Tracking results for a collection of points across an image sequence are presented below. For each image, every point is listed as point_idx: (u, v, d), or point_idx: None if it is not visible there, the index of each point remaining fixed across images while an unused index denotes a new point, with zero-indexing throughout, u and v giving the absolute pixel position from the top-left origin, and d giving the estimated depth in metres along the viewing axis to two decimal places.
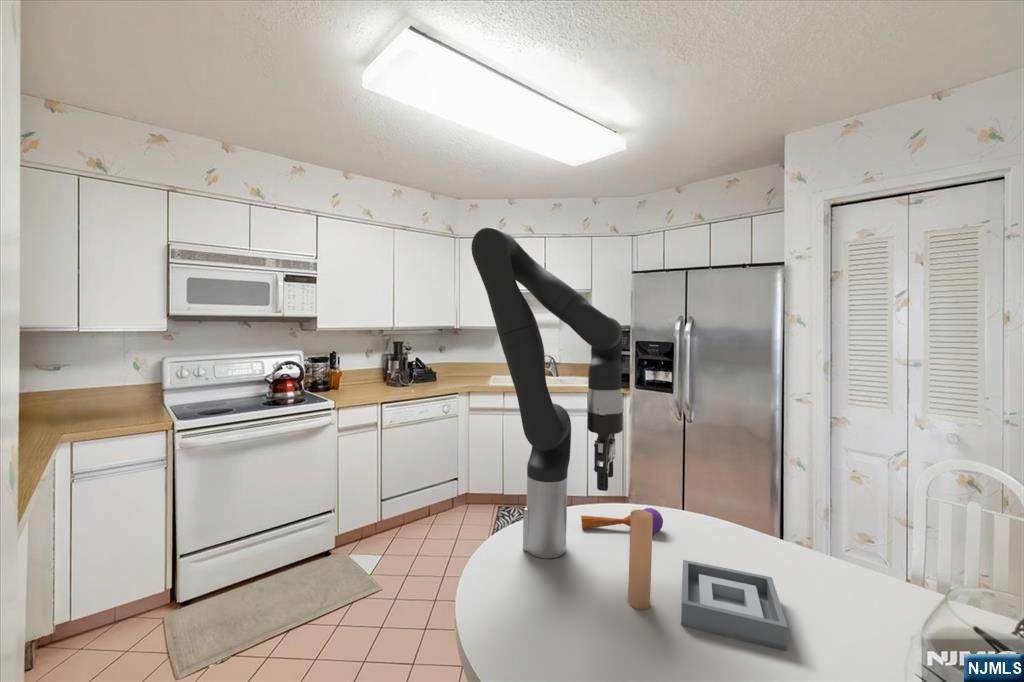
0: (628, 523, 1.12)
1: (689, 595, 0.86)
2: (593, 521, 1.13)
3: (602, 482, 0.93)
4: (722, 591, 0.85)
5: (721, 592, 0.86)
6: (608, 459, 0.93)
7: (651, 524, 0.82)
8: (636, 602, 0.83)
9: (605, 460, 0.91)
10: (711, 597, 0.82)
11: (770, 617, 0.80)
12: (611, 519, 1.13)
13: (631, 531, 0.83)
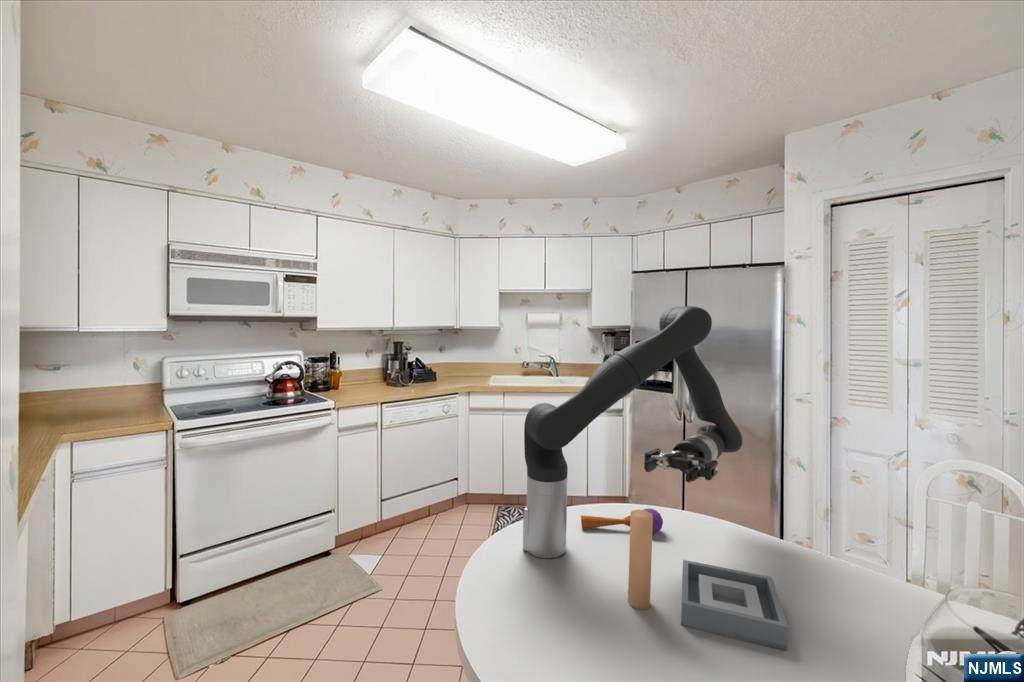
0: (628, 523, 1.12)
1: (689, 595, 0.86)
2: (593, 521, 1.13)
3: (696, 476, 0.89)
4: (722, 591, 0.85)
5: (721, 592, 0.86)
6: None
7: (651, 524, 0.82)
8: (636, 602, 0.83)
9: (713, 476, 0.92)
10: (711, 597, 0.82)
11: (770, 617, 0.80)
12: (611, 519, 1.13)
13: (631, 531, 0.83)
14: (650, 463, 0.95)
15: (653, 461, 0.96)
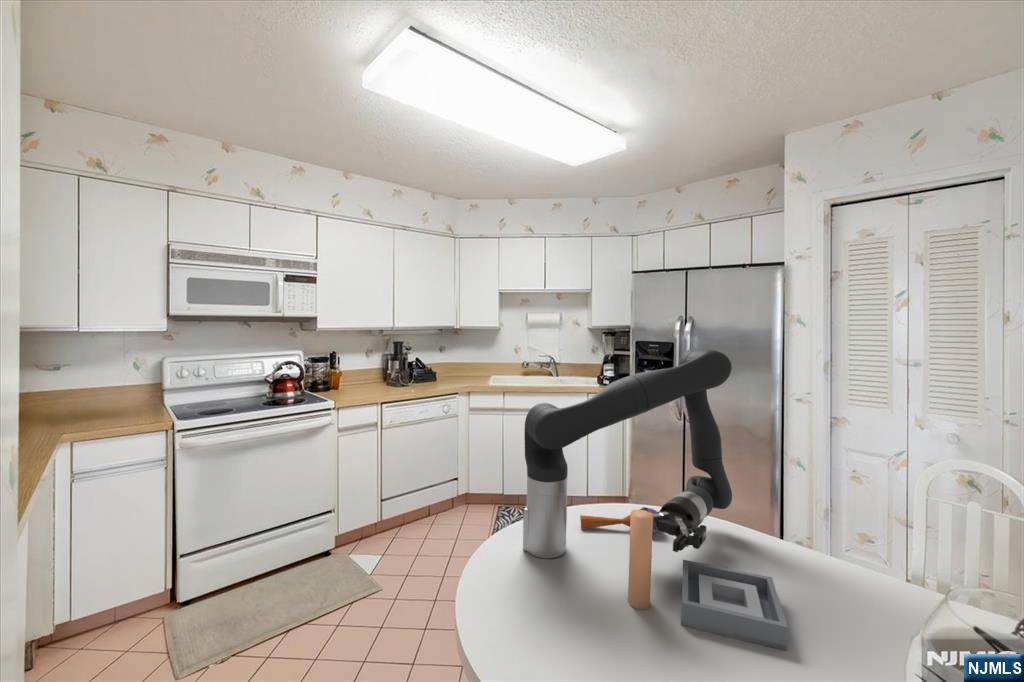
0: (627, 523, 1.12)
1: (689, 595, 0.86)
2: (592, 521, 1.13)
3: (683, 545, 0.86)
4: (722, 591, 0.85)
5: (721, 592, 0.86)
6: None
7: (651, 524, 0.82)
8: (636, 602, 0.83)
9: (702, 543, 0.89)
10: (711, 597, 0.82)
11: (770, 617, 0.80)
12: (610, 519, 1.13)
13: (631, 531, 0.83)
14: None
15: None
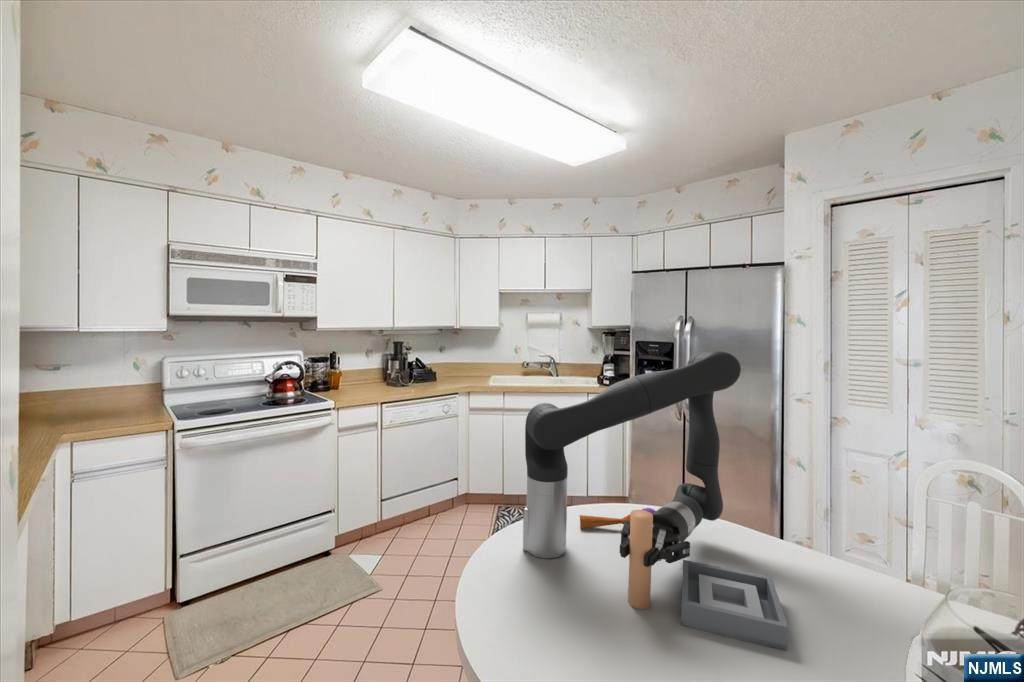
0: None
1: (689, 595, 0.86)
2: (592, 521, 1.13)
3: (655, 559, 0.81)
4: (722, 591, 0.85)
5: (721, 592, 0.86)
6: None
7: (651, 524, 0.82)
8: (636, 602, 0.83)
9: (679, 559, 0.83)
10: (711, 597, 0.82)
11: (770, 617, 0.80)
12: (609, 519, 1.13)
13: (631, 531, 0.83)
14: (626, 547, 0.84)
15: None
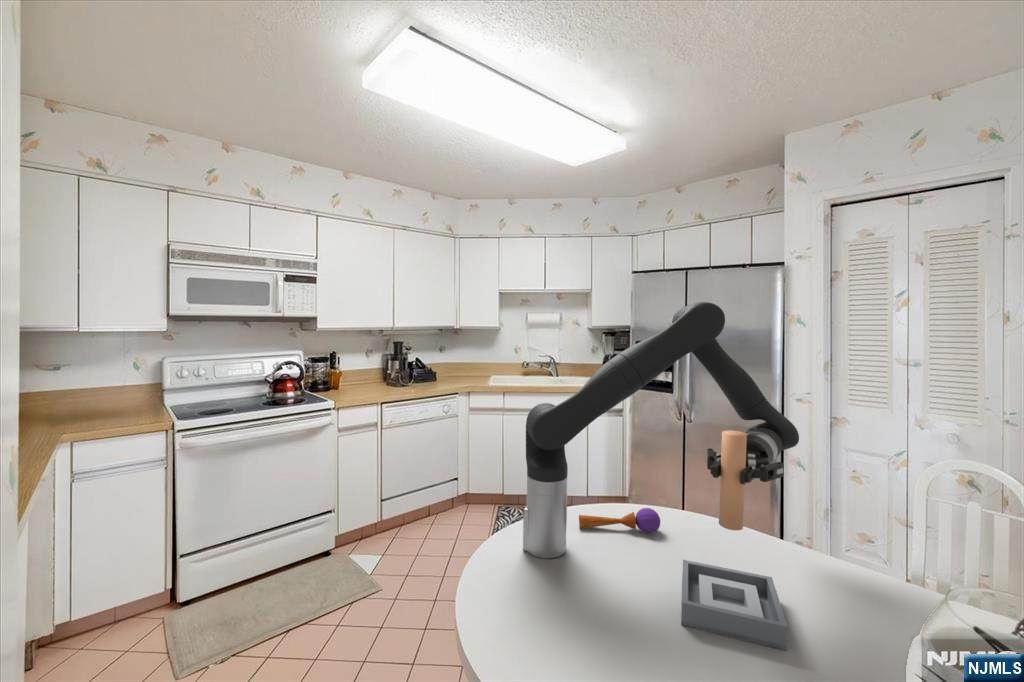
0: (625, 523, 1.12)
1: (689, 595, 0.86)
2: (591, 520, 1.13)
3: (751, 477, 0.78)
4: (722, 591, 0.85)
5: (721, 592, 0.86)
6: None
7: (745, 442, 0.80)
8: (730, 523, 0.80)
9: (773, 479, 0.80)
10: (711, 597, 0.82)
11: (770, 617, 0.80)
12: (608, 519, 1.13)
13: (724, 450, 0.81)
14: (718, 467, 0.81)
15: None
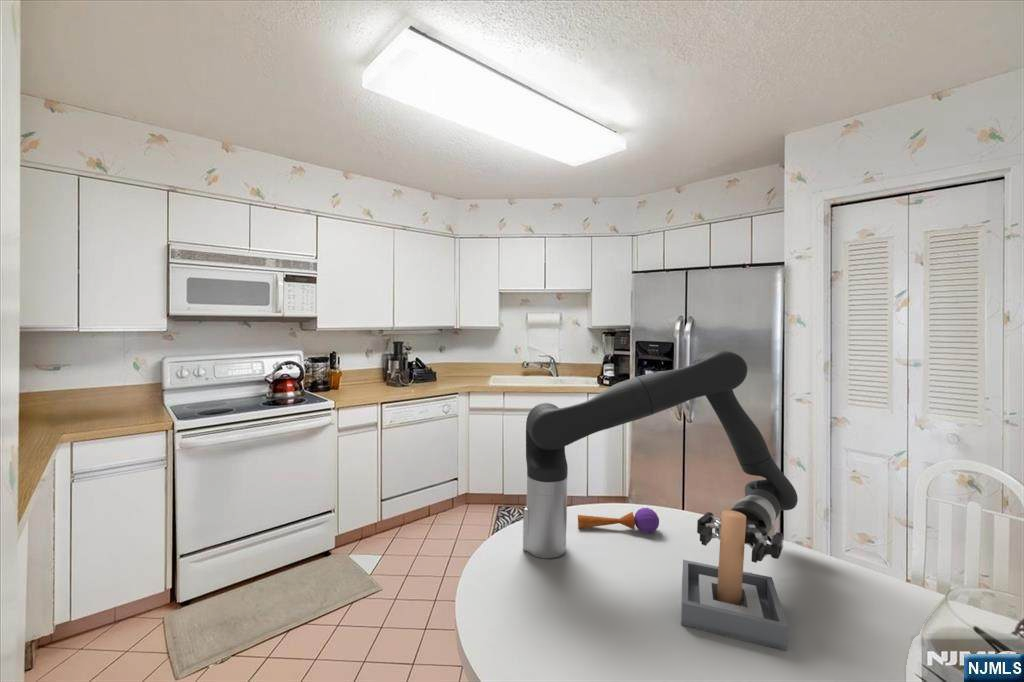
0: (624, 523, 1.12)
1: (689, 595, 0.86)
2: (589, 520, 1.13)
3: (762, 555, 0.78)
4: None
5: None
6: None
7: (745, 524, 0.81)
8: None
9: (780, 552, 0.81)
10: (711, 597, 0.82)
11: (770, 617, 0.80)
12: (607, 519, 1.13)
13: (723, 531, 0.82)
14: (707, 535, 0.84)
15: (709, 532, 0.85)
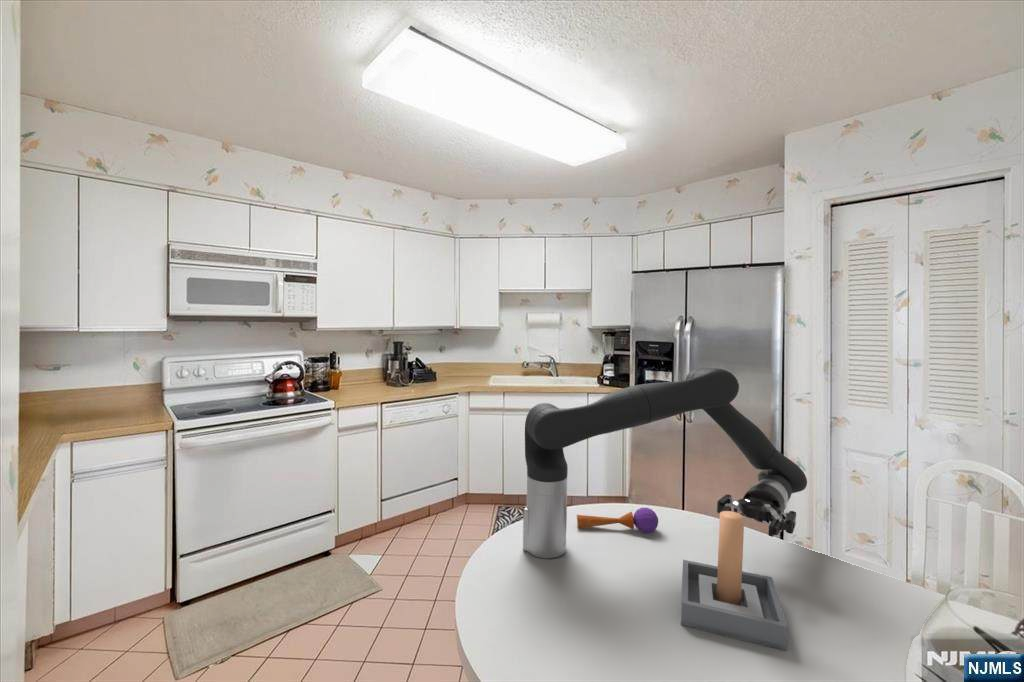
0: (623, 522, 1.12)
1: (689, 595, 0.86)
2: (589, 520, 1.13)
3: (778, 530, 0.88)
4: None
5: None
6: None
7: (743, 526, 0.81)
8: None
9: None
10: (711, 597, 0.82)
11: (770, 617, 0.80)
12: (606, 518, 1.13)
13: (721, 533, 0.81)
14: None
15: None
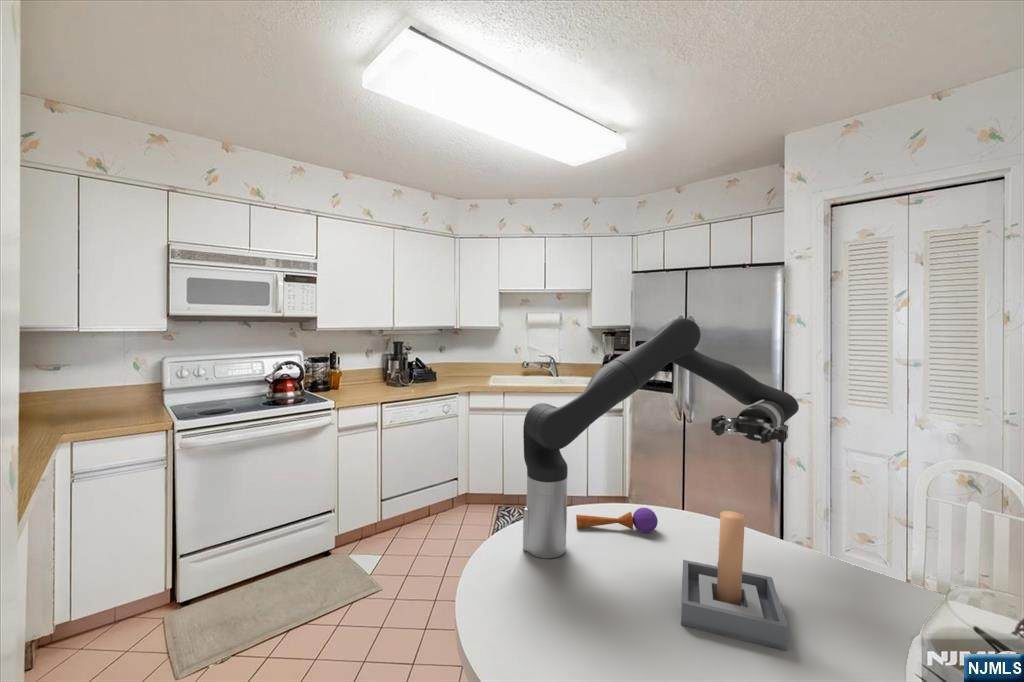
0: (623, 522, 1.12)
1: (689, 595, 0.86)
2: (588, 520, 1.13)
3: (770, 438, 0.90)
4: None
5: None
6: None
7: (743, 525, 0.81)
8: None
9: None
10: (711, 597, 0.82)
11: (770, 617, 0.80)
12: (606, 518, 1.13)
13: (722, 533, 0.81)
14: (720, 427, 0.95)
15: (722, 425, 0.96)
